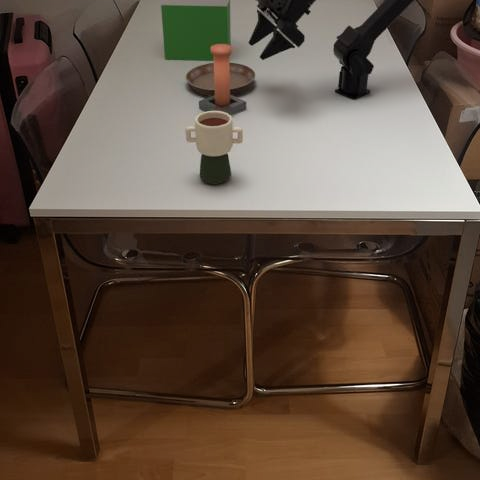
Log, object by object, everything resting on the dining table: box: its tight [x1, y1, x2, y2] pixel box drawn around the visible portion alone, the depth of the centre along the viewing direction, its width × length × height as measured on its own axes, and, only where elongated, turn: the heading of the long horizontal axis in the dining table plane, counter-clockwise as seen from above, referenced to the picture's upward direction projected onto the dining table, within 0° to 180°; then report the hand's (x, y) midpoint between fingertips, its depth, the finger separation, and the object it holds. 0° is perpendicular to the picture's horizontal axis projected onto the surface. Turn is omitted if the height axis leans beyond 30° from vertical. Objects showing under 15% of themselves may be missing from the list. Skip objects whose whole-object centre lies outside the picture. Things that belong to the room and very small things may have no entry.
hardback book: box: [160, 0, 232, 62], centre depth 175 cm, size 18×7×24 cm, turn 85°
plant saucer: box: [185, 61, 256, 97], centre depth 165 cm, size 18×18×3 cm
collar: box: [198, 94, 247, 116], centre depth 154 cm, size 8×8×2 cm
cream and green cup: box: [185, 111, 244, 185], centre depth 125 cm, size 11×7×13 cm, turn 86°
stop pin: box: [211, 44, 233, 108], centre depth 150 cm, size 5×5×15 cm
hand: (255, 51), depth 148 cm, fingers open, 9 cm apart
